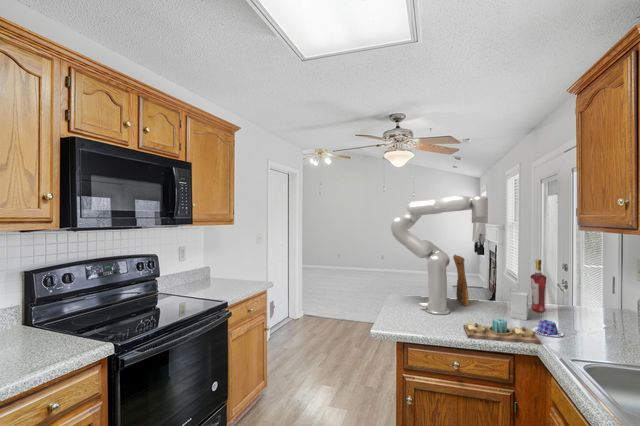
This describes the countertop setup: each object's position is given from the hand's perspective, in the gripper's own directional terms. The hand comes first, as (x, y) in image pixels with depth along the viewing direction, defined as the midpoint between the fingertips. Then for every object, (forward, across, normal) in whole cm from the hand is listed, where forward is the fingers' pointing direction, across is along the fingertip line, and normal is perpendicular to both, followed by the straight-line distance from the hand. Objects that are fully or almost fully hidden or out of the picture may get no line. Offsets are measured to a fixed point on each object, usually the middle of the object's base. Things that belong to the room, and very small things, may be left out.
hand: (479, 253), depth 175 cm
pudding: (+33, +14, +27) cm, 45 cm away
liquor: (+33, -20, +33) cm, 51 cm away
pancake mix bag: (+33, -27, -5) cm, 43 cm away
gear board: (+33, +24, +5) cm, 41 cm away
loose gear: (+31, +24, +5) cm, 40 cm away
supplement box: (+33, -6, +20) cm, 39 cm away
